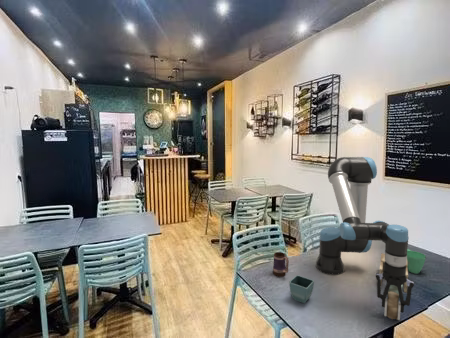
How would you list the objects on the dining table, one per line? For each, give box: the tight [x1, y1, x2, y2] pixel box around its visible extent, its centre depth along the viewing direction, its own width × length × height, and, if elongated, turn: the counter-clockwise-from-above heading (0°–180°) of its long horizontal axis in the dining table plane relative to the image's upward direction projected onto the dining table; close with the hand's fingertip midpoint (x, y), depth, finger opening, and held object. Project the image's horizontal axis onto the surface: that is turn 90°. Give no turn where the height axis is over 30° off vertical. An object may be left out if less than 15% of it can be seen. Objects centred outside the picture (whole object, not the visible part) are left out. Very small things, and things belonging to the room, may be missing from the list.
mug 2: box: [407, 248, 427, 275], centre depth 151 cm, size 15×10×10 cm
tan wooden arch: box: [378, 253, 409, 294], centre depth 139 cm, size 12×19×10 cm, turn 147°
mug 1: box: [272, 251, 290, 278], centre depth 146 cm, size 10×7×12 cm
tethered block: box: [385, 284, 404, 320], centre depth 120 cm, size 6×25×10 cm, turn 145°
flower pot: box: [288, 274, 315, 304], centre depth 124 cm, size 9×9×9 cm
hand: (391, 316), depth 111 cm, fingers closed on tethered block, 4 cm apart
